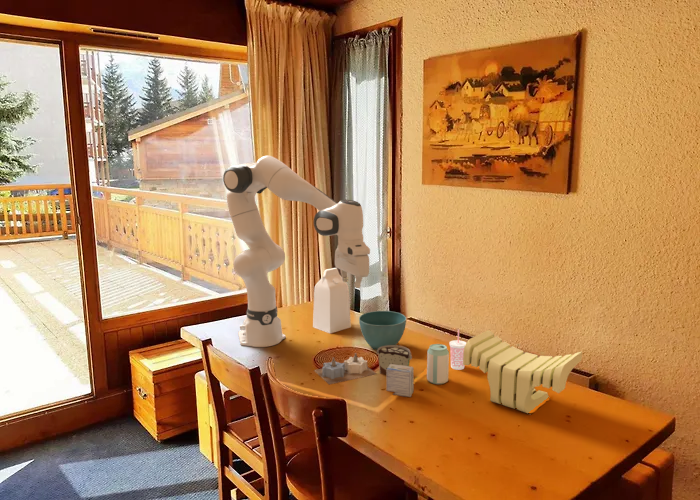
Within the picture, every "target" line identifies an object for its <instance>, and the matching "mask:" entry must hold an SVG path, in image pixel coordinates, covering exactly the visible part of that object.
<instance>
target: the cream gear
mask: <svg viewBox="0 0 700 500" xmlns="http://www.w3.org/2000/svg"><path fill="white" fill-rule="evenodd" d="M343 363H344V364H345V370H347V371H348V373H349V374H351V373H359V374H362V372H363V371H365V370H367V367H368V360H365V359H364V357H362V356H360V357H358V362H354V356H353V357H352V356H349V357H348V359H346V360H345V359H344V361H343Z"/></svg>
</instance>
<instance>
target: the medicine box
mask: <svg viewBox="0 0 700 500" xmlns="http://www.w3.org/2000/svg"><path fill="white" fill-rule="evenodd" d="M386 391H387V392H393V393H392V395H393V396H400V397H405V398H406V397H407V398H408V397H409V398H412V394H413V393H414V367H413V366H412V365H411V366H410V365H409V366H403V365H394V364H390V365H389V367H388V368H387V375H386Z"/></svg>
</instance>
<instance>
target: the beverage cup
mask: <svg viewBox="0 0 700 500" xmlns="http://www.w3.org/2000/svg"><path fill="white" fill-rule="evenodd" d="M466 343H467V341H465V340H464V341H463V340H460V329H457V339H456V340H451V341H450V340H449V343H448V344H449V347H450V350H449V352H450V353H449V355H450V367H451V368H452V369H453V370H457V371H458V370H459V371H460V370H464V369H465V365H463V353H464V347H465V345H466Z"/></svg>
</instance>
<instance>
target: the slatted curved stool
mask: <svg viewBox="0 0 700 500" xmlns="http://www.w3.org/2000/svg"><path fill="white" fill-rule="evenodd" d="M582 356H583V351H578V352H575V353H574V354H572V353H570V354H565V355H564V356H563V355H555V356H554V357H553V356H552V355H538V354H535V353H534V354H533V353H531V352H528V351H527V352H524V350H522V349H519V348H517V347H515V346H513V345H512V346H511V344H510V343H508V342H507V341H503V339H502V338H501V337H499V336H498V335H495V332H493V331H492V330H491V329H486V330H485V331H483V332H481V333H479V334H477V335H474V336H473V337H471V338H469V339H468V340H467V341H466V345H465V347H464V353H463V365H464V366H471V367H474V368H478V367H479V370H480V371H482V372H483V374H487V375H486V376H487V381H488V386H489V390H490V400H489V401H491V402H493V403H496V404H499V405H503V406H505V407H508V408H511V409H514V410H517V411H521V412H523V413H526V414H528V413H529V412H530V411H531V410H533V409H534V408H535V407H536V406H538V405H539V404H540V403H542V402H543V401H544V400H546V399H547V398H548V397H549V398H550V396H549V394H548V393H549V392H546V391H543V390H539V389H538V390H537V389H536V387H540V386H541V385H542V388H546V389H551V390H552V391H553V392H556V394H560V393H561V392H562V391H564V390H565V389H566V383H567V382H568V381H567V380H568V377H569V376H570V373H572V370H573V369H574V368H575V367H576V366H577V365H578V364H579V363H581V361H582V358H583V357H582ZM501 403H502V404H501ZM515 408H517V409H515Z"/></svg>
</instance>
